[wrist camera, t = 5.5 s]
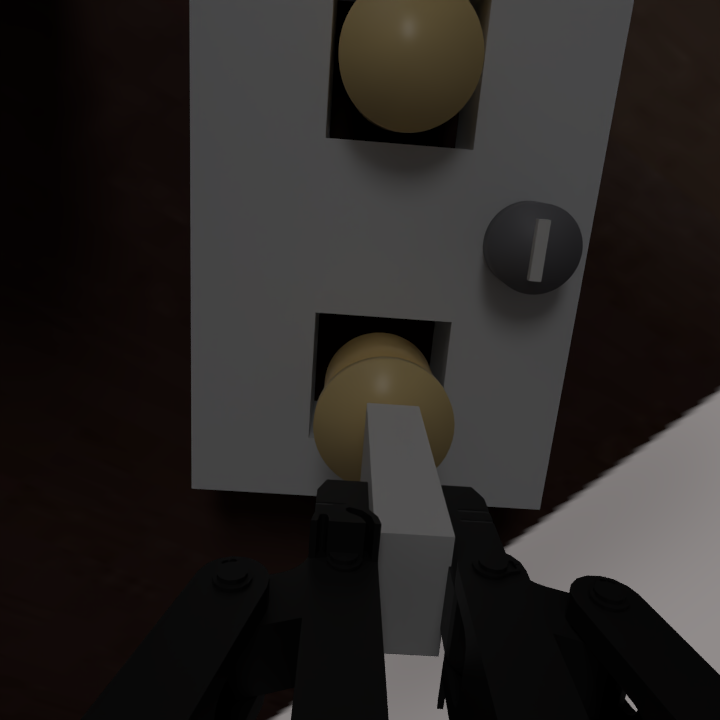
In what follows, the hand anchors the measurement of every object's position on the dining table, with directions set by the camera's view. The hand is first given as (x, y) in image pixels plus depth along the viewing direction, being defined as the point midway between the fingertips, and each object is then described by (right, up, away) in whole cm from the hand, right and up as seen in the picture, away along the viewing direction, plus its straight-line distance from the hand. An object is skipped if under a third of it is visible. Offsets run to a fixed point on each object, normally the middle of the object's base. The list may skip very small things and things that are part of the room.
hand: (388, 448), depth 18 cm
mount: (0, +8, +8) cm, 11 cm away
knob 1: (+1, +13, +5) cm, 14 cm away
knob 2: (0, +2, +5) cm, 5 cm away
